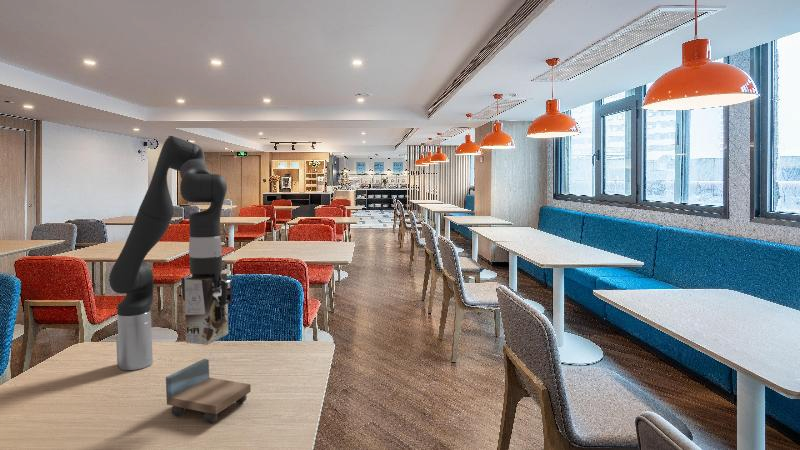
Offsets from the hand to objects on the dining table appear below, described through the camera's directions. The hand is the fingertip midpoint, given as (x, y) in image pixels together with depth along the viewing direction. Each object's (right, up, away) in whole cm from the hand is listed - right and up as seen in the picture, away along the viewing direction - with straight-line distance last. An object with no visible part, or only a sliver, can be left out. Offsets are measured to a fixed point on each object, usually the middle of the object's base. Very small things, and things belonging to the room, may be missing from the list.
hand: (207, 319), depth 117 cm
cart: (0, -23, +2) cm, 24 cm away
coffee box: (0, -5, 0) cm, 5 cm away
